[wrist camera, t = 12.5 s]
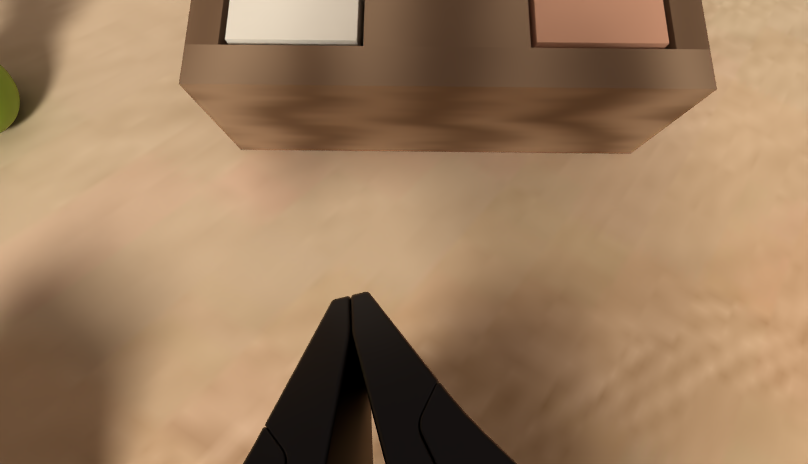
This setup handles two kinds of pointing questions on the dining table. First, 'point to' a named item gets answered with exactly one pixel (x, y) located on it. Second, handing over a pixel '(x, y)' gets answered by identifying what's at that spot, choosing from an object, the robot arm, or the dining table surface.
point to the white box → (296, 22)
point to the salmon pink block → (598, 24)
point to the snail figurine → (8, 100)
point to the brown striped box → (445, 83)
